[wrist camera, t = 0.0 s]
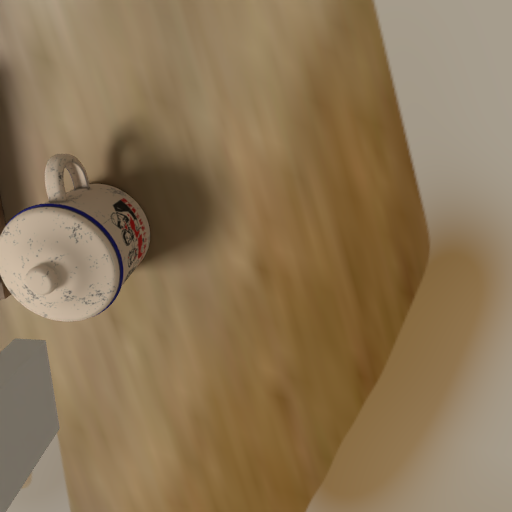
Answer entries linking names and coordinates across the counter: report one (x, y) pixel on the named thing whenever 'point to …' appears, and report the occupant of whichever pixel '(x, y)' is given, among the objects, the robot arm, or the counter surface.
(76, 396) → the counter surface
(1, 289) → the collar stand
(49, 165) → the teacup with lid
